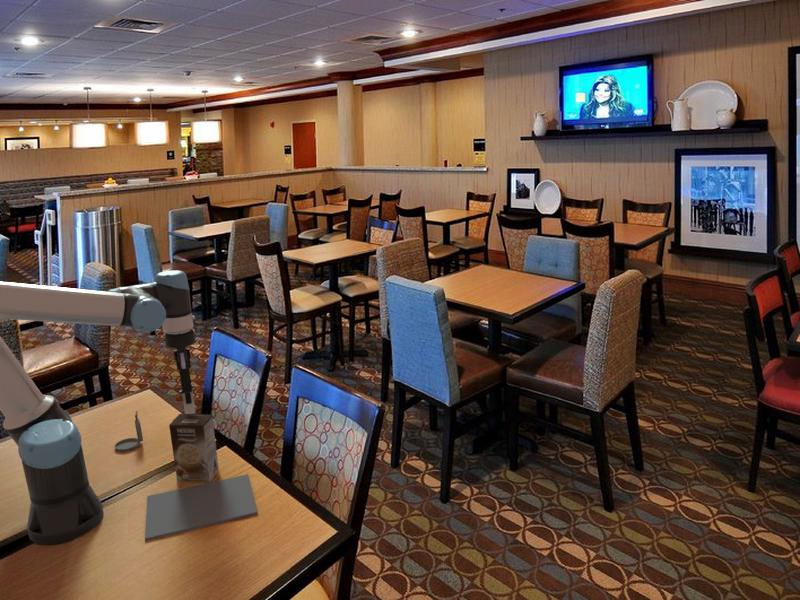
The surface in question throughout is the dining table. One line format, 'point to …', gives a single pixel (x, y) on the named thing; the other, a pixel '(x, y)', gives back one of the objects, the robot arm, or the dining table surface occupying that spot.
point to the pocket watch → (131, 442)
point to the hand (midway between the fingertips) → (190, 412)
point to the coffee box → (194, 448)
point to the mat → (199, 506)
